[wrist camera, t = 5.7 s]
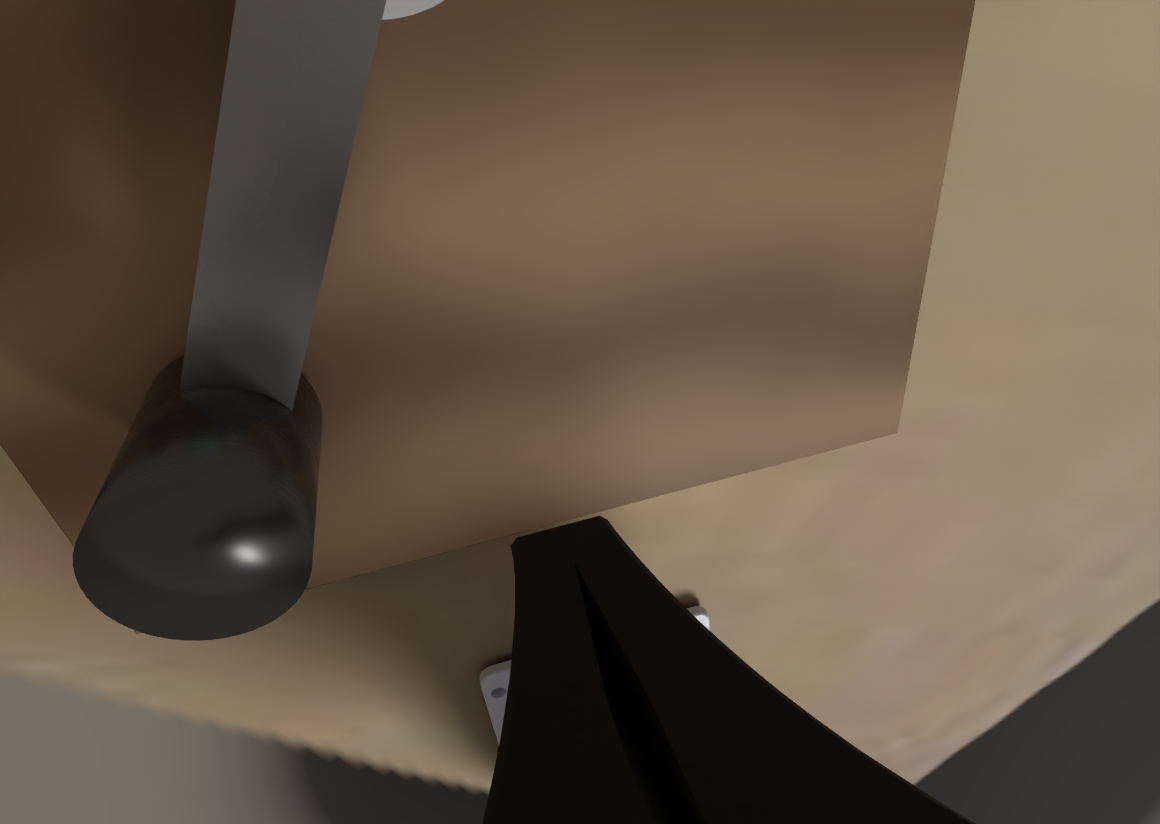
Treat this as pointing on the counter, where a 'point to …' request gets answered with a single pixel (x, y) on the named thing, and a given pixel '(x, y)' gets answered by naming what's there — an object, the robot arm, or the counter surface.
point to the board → (495, 248)
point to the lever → (241, 348)
